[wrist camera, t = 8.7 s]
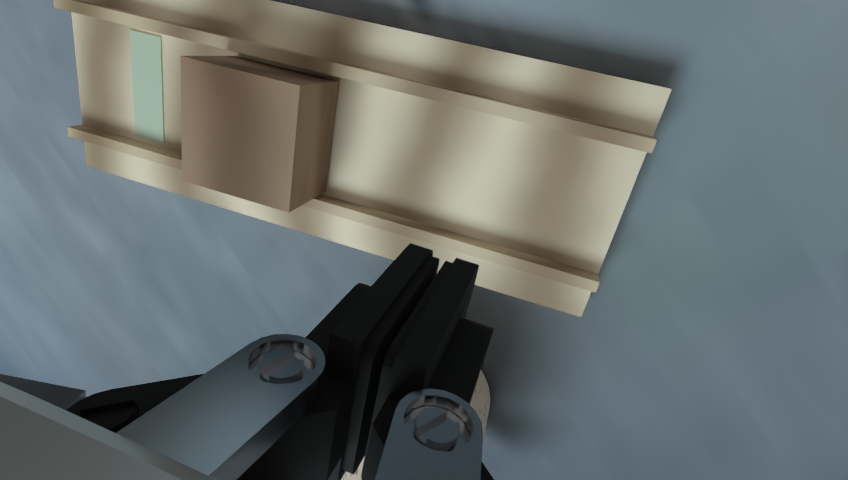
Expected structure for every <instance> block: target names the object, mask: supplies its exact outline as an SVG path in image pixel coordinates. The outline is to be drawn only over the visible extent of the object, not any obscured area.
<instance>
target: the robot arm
mask: <svg viewBox="0 0 848 480" xmlns="http://www.w3.org/2000/svg"><path fill="white" fill-rule="evenodd" d="M438 266H439V258H436V257H433V250H430V249H427V248H424V247H421V246H418V245H415V244H412V243H410V244H409V245H408V246H407V247H406V248H405V249H404V250H403V251H402V252H401V254H400V255H399V256H398V257H397V258H396V259H395V260H394V261H393V263H392V264H391V265H390V266H389V267H388V268H387V269H386V270H385V272H384V273H383V274H382V275H381V276H380V277H379V278H378V279H377V281H376V282H375V283H374V284H373V285H372V286H368V285H365V284H362V283H358V284H357V285H356V286H355V287H354V288H353V289H352V290H351V291H350V292H349V293H348V294H347V295H346V296H345V297H344V298H343V299H342V300H341V301H340V302H339V303H338V304H337V305H336V306H335V307H334V309H333V310H332V311H331V312H330V313H329V314H328V315H327V316H326V317H325V318H324V319H323V320H322V321H321V322H320V323H319V324H318V325H317V326H316V327H315V328H314V329H313V330H312V331H311V333H310V334H309V335H308V336H307V337H306V338H304V337H301V336H298V335H291V334H274V335H270V336H266V337H262V338H260V339H258V340H256V341H254V342H252V343H250V344H248V345H247V346H245V347H244V348H242V349H241V350H239V351H238V352H236V353H235V354H233V355H232V356H230V357H229V358H227V359H226V360H224V361H223V362H221V363H220V364H218V365H217V366H215V367H214V368H212V369H211V370H209V371H208V372H206V373H205V374H200V375H194V376H188V377H182V378H176V379H171V380H165V381H159V382H153V383H147V384H141V385H135V386H129V387H123V388H117V389H111V390H107V391H103V392H100V393H96V394H93V395H91V396H89V397H86V392H85V390H81V389H75V388H70V387H65V386H60V385H55V384H49V383H44V382H39V381H34V380H29V379H23V378H18V377H13V376H8V375H3V374H0V480H341V479H342V477H343V475H344V473H345V472H349V473H351V474H354V473H355V472H356V471H357V469H358V467H359V465H360V463H361V462H362V460H363V458H364V456H365V458H364V463H363V468H362V473H361V478H362V480H494V479H493V478H492V476H491V475H490V473H489V472H488V470H487V469H486V467H485V466H484V464H483V463H482V444H483V429H482V422H481V420H480V418H479V416H478V414H477V412H476V411H475V410H474V409H473V408H472V407H471V406H470V402H471V399H472V396H473V393H474V390H475V387H476V383H477V380H478V377H479V374H480V371H481V368H482V364H483V361H484V358H485V355H486V352H487V348H488V345H489V342H490V339H491V336H492V332H493V329H494V328H491V327H488V326H485V325H482V324H479V323H476V322H473V321H470V320H467V319H465V316H466V313H467V309H468V305H469V302H470V298H471V294H472V291H473V287H474V284H475V280H476V276H477V273H478V268H479V265H478V264H475V263H471V262H468V261H465V260H462V259H459V258H456V259H455V260H454V262H453V263H451V262H448V261H445V262H444V264H443V265H442V267H441V268H440V270H439V272H438V273H437V270H438Z"/></svg>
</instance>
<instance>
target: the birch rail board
mask: <svg viewBox="0 0 848 480" xmlns="http://www.w3.org/2000/svg"><path fill="white" fill-rule="evenodd" d="M53 1H54V8H57V9H61V10H65V11H70V12H71V13H72V23H73V33H74V43H75V53H76V64H77V74H78V84H79V94H80V104H81V114H82V124H83V125H77V126H70V127H68V136H69V137H72V138H75V139H78V140H82V141H84V145H85V155H86V165H87V166H88V167H91V168H95V169H98V170H101V171H104V172H108V173H111V174H114V175H117V176H121V177H124V178H127V179H130V180H134V181H137V182H140V183H144V184H147V185H150V186H153V187H157V188H160V189H163V190H166V191H170V192H173V193H176V194H179V195H183V196H186V197H189V198H193V199H196V200H199V201H202V202H206V203H209V204H212V205H215V206H219V207H222V208H225V209H228V210H232V211H235V212H238V213H242V214H245V215H248V216H251V217H255V218H258V219H261V220H264V221H268V222H271V223H274V224H277V225H281V226H284V227H287V228H291V229H294V230H297V231H300V232H304V233H307V234H310V235H313V236H317V237H320V238H323V239H326V240H330V241H333V242H336V243H340V244H343V245H346V246H349V247H353V248H356V249H359V250H362V251H366V252H369V253H372V254H375V255H379V256H382V257H385V258H389V259H392V260H395V259H396V258H397V257H398V256H399V255H400V254H401V252H402V251H403V250H404V249H405V248H406V247H407V246H408V245H409V244H410V243H412V244H415V245H418V246H421V247H424V248H427V249H430V250H433V257H436V258H439V266H438V270H437V273H438V272H439V270H440V268H441V267H442V265H443V264H444V262H445V261H448V262H451V263H453V262H454V260H455V259H456V258H459V259H462V260H465V261H468V262H471V263H475V264H478V265H479V268H478V273H477V276H476V280H475V284H474V285H477V286H480V287H483V288H487V289H490V290H493V291H496V292H500V293H503V294H506V295H509V296H513V297H516V298H519V299H523V300H526V301H529V302H532V303H536V304H539V305H542V306H545V307H549V308H552V309H555V310H558V311H562V312H565V313H568V314H572V315H575V316H578V317H581V316H582V314H583V311H584V309H585V306H586V304H587V301H588V299H589V296H590V294H591V291H592V292H595V293H596V291H597V288H598V286H599V283H600V280H599V275H598V274H599V271H600V269H601V266H602V264H603V261H604V259H605V256H606V254H607V251H608V249H609V246H610V244H611V241H612V239H613V236H614V234H615V231H616V228H617V226H618V223H619V221H620V218H621V216H622V213H623V211H624V208H625V206H626V203H627V201H628V198H629V196H630V193H631V191H632V188H633V186H634V183H635V181H636V178H637V176H638V173H639V171H640V168H641V166H642V163H643V161H644V158H645V156H646V153H647V152H648V153H652V152H653V149H654V147H655V144H656V142H657V140H656V139H655V138H654V137H653V135H654V133H655V130H656V128H657V125H658V123H659V120H660V118H661V115H662V113H663V110H664V108H665V105H666V103H667V100H668V98H669V95H670V93H671V90H672V89H670V88H667V87H663V86H658V85H654V84H649V83H644V82H640V81H635V80H631V79H626V78H622V77H617V76H613V75H608V74H604V73H599V72H595V71H590V70H586V69H581V68H577V67H572V66H567V65H563V64H558V63H554V62H549V61H545V60H540V59H536V58H531V57H527V56H522V55H518V54H513V53H509V52H504V51H499V50H495V49H490V48H486V47H481V46H477V45H472V44H468V43H463V42H459V41H454V40H450V39H445V38H441V37H436V36H432V35H427V34H422V33H418V32H413V31H409V30H404V29H400V28H395V27H391V26H386V25H382V24H377V23H373V22H368V21H364V20H359V19H355V18H350V17H345V16H341V15H336V14H332V13H327V12H323V11H318V10H314V9H309V8H305V7H300V6H296V5H291V4H287V3H282V2H277V1H273V0H53ZM180 56H238V57H242V58H246V59H251V60H255V61H259V62H263V63H267V64H271V65H275V66H279V67H283V68H287V69H291V70H295V71H299V72H303V73H308V74H312V75H316V76H320V77H324V78H328V79H332V80H336V81H339V83H338V92H337V100H336V109H335V117H334V126H333V134H332V143H331V151H330V160H329V168H328V177H327V185H326V192H324V193H322V194H320V195H319V196H317V197H315V198H313V199H312V200H310V201H308V202H307V203H305V204H303V205H301V206H300V207H298V208H296V209H295V210H293V211H291V212H289V213H288V212H285V211H281V210H278V209H275V208H271V207H268V206H265V205H261V204H258V203H255V202H252V201H248V200H245V199H242V198H238V197H235V196H232V195H228V194H225V193H222V192H218V191H215V190H212V189H208V188H205V187H202V186H198V185H195V184H192V183H188V182H185V181H182V137H181V63H180Z"/></svg>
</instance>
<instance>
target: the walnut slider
mask: <svg viewBox="0 0 848 480" xmlns="http://www.w3.org/2000/svg"><path fill="white" fill-rule="evenodd" d="M180 63H181V137H182V181H185V182H188V183H192V184H195V185H198V186H202V187H205V188H208V189H212V190H215V191H218V192H222V193H225V194H228V195H232V196H235V197H238V198H242V199H245V200H248V201H252V202H255V203H258V204H261V205H265V206H268V207H271V208H275V209H278V210H281V211H285V212H288V213H289V212H291V211H293V210H295V209H296V208H298V207H300V206H301V205H303V204H305V203H307V202H308V201H310V200H312V199H313V198H315V197H317V196H319V195H320V194H322V193H324V192H326V185H327V177H328V168H329V160H330V151H331V143H332V134H333V126H334V117H335V109H336V100H337V92H338V83H339V81H336V80H332V79H328V78H324V77H320V76H316V75H312V74H308V73H303V72H299V71H295V70H291V69H287V68H283V67H279V66H275V65H271V64H267V63H263V62H259V61H255V60H251V59H246V58H242V57H238V56H180Z"/></svg>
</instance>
